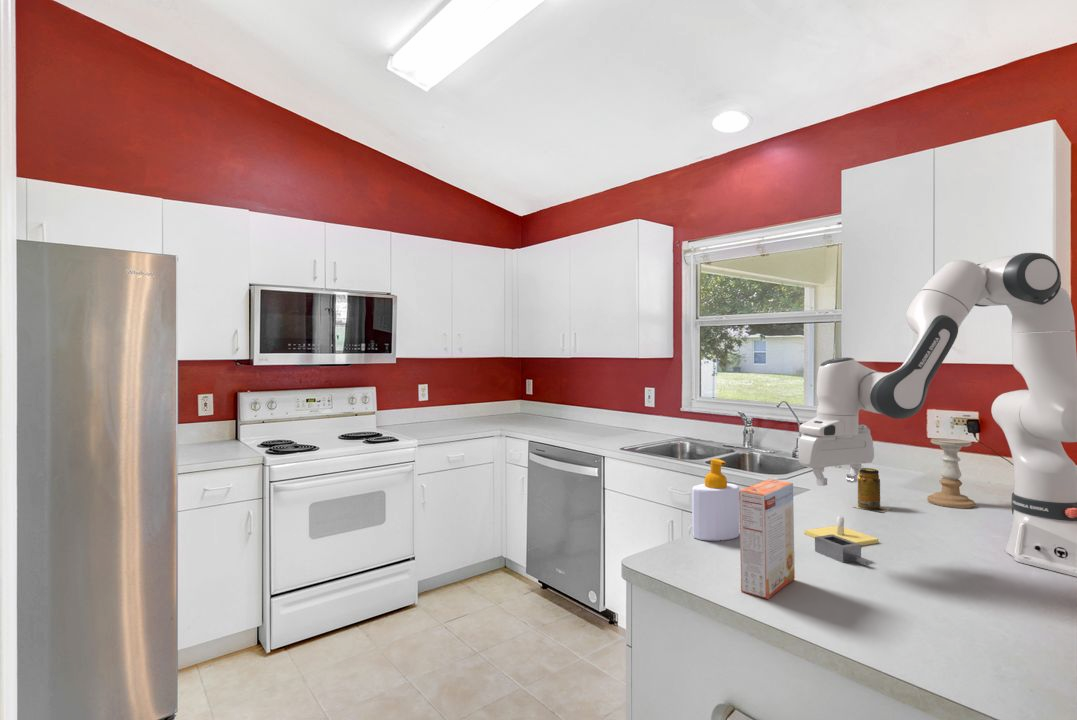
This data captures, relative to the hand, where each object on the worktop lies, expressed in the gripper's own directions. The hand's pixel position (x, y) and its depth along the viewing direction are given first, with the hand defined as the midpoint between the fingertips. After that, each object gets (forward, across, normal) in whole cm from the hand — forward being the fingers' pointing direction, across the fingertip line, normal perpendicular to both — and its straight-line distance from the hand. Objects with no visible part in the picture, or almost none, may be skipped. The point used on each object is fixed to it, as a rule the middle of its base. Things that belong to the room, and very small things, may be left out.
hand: (837, 483), depth 132 cm
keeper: (+17, -11, -9) cm, 22 cm away
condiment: (+17, -44, -27) cm, 55 cm away
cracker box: (+18, +28, +8) cm, 34 cm away
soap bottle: (+17, +18, -22) cm, 33 cm away
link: (+17, 0, +2) cm, 17 cm away
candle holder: (+17, -72, -22) cm, 77 cm away
